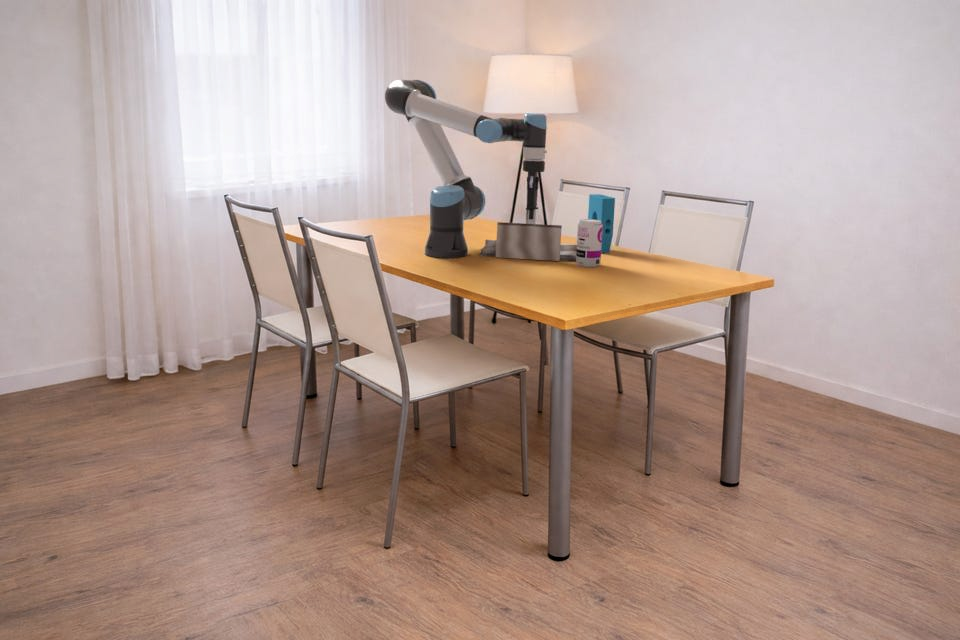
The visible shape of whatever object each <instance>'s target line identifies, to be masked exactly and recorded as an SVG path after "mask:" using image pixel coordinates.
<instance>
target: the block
mask: <svg viewBox="0 0 960 640" xmlns="http://www.w3.org/2000/svg"><path fill="white" fill-rule="evenodd" d="M588 195H589V196H588V209H587V211H588V213H587V215H588V216H587V219H594V220H600V221H601V223H602V225H603V230H602V247H601V254H606V253H607V254H608V253H610V250H611V248H612V247H611V246H612V241H613V236H614V224H615V223H614V222H615V221H614V220H615V207H616V206H615V205H616V198H615V197H613V196H609V195H605V194H602V193H601V194H600V193H597V194H593V193H592V194H590V193H589V194H588Z"/></svg>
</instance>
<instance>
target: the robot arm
mask: <svg viewBox="0 0 960 640" xmlns="http://www.w3.org/2000/svg"><path fill="white" fill-rule="evenodd" d="M384 99H385V100H384V101H385V104H386V106H387V107H388V108H389V110H390V111H392V112H394V113H396V114H399V115H403V116H405V118H406V120H407V122H408V124H410V125H411V126H414V127H415V129H416V132H417V133H418V135H419V138H420V140H421V143H422V144H423V146H424V148H425V150H426V152H427V154H428V156H429V158H430V161H431V163H432V165H433V166H434V167H433V168H434V169H435V171H436V173H437V175H438V177H439V179H440V182H441V184H442V185H440V186H436V187H434V188H432V190H431V191H430V197H429V211H430V212H429V234H428V237H427V239H426V244H425V247H424V255H426V256H429V257H432V258H433V257H434V258H441V259H442V258H446V259H448V258H452V259H453V258H463V257H466V256H468V254H469V253H468V252H469V248H468V244H467V241H466V238H465V234H464V221H467V220H473V219H474V218H477V217H478V216H480V215H481V214H482V212H483V211H484V209H485V207H486V195H485V193H484V191H483V190H482V189H481V188H480V187H478V186H476V185H475V183H474V182H473V180H472V178H471V176H468V175H466V174H465V173H464V170H463V168H462V166H461V165H460V163H459V160H458V159H457V156H456V154H455V152H454V150H453V147H452V146H451V144H450V142H449V139H448V137H447V136H446V133H445V132H444V131H445V130H444V129H443V127H447V128H449V129H452V130H455V131H458V132H462V133H464V134H466V135H469V136H473V137H474V138H477V139H479V141H481V142H483V143H487V144H494V143H499V142H501V143H502V142H523V148H522V158H523V161H522V171H523V172H527V173H528V176H526V177H527V178H526V182H527V183H526V185H527V187H526V189H527V201H526V202H527V205H526V208H525V211H527V221H526V224H536V220H537V219H536V217H537V210H539V207H538V204H537V203H538V190H539V182H540V176H539V175H538V173H544V172H545V171H546V170H545V169H546V168H545V164H546V162H545V158H546V154H547V153H548V151H547V150H546V146H547V145H546V144H547V143H546V141H547V129H548V126H547V116H546V114H545V113H525V114H524V118H521V119H520V118H509V117H508V118H507V117H506V118H505V117H499V118H498V117H497V118H493V117H488V116H486V115H483V114H480V113H477V112H474V111H471V110H469V109H466V108H463V107H460V106H456V105H454V104H451V103H448V102H445V101H443V100H440V99H437V94H436V91H435V89H434V87H433V86H432V85H431V84H430V83H428V82H426V81H424V80H420V79H412V80H411V79H410V80H409V79H397V80H393V82H391V83H390V84H389V85H388V86H387V87H386V89H385V92H384ZM442 126H443V127H442Z"/></svg>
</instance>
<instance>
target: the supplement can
mask: <svg viewBox="0 0 960 640" xmlns="http://www.w3.org/2000/svg"><path fill="white" fill-rule="evenodd" d="M602 230H603V225H602V223H601V221H600V220H594V219H588V218H586V219H584V218H583V219H580V220H579V222H578V224H577V234H576V235H577V237H576V245H577V251H576V262H575V263H576V264H577V265H578V266H579V267H585V268H596V267H598V266H600V264H601V261H602V258H601V257H602V253H601V247H602Z"/></svg>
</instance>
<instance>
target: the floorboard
mask: <svg viewBox="0 0 960 640" xmlns="http://www.w3.org/2000/svg"><path fill="white" fill-rule="evenodd" d="M484 241H485V242H484V243H485V244H484V246H483V247H482V248H481V249H480V253H479V256H480V257H489V258H490V257H492V258H497V257H496V242H497V239H485V240H484ZM576 251H577V244H572V243H571V244H570V243H561V245H560V261H559V262H572V263H573V262H575V263H576Z"/></svg>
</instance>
